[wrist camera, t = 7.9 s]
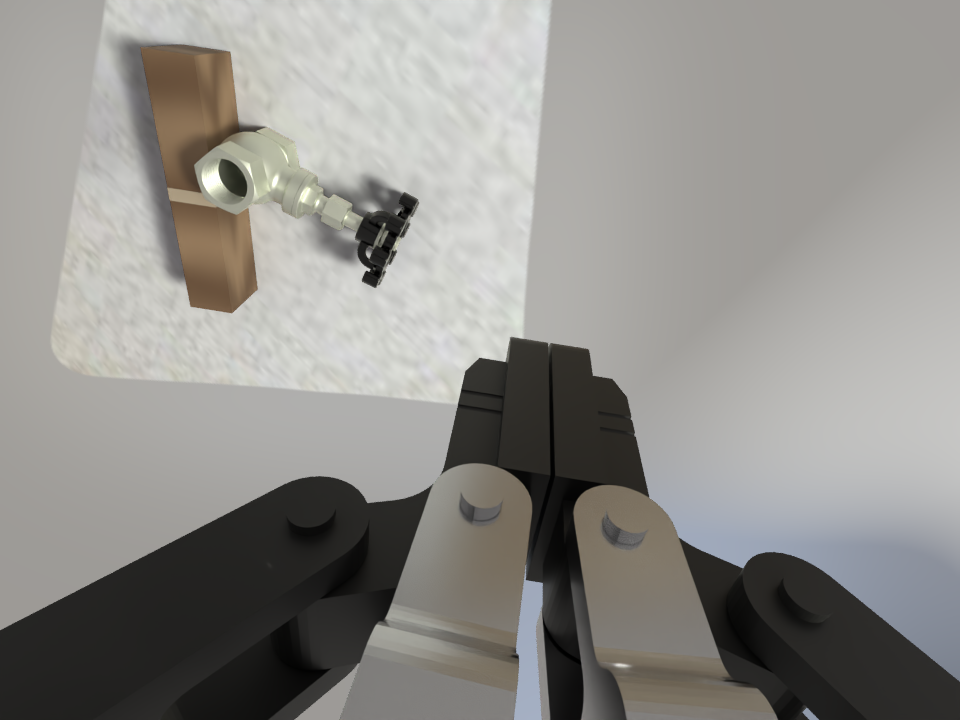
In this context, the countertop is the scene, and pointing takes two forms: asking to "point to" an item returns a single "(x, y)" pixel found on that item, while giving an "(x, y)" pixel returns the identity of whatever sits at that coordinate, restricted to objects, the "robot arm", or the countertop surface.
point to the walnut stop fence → (183, 142)
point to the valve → (296, 193)
